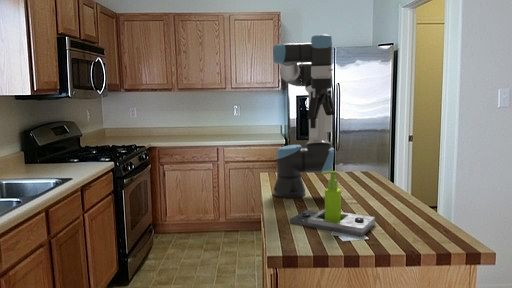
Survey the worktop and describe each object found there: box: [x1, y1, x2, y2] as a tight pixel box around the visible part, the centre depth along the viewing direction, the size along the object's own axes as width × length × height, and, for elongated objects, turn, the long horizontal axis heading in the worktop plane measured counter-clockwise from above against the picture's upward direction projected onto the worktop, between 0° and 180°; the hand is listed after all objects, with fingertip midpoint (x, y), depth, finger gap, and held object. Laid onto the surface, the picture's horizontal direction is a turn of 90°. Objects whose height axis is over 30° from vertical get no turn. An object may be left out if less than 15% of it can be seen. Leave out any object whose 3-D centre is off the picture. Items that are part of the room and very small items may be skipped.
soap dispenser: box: [321, 170, 342, 222], centre depth 149 cm, size 6×7×20 cm
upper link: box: [308, 208, 376, 237], centre depth 148 cm, size 20×14×4 cm, turn 57°
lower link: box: [289, 209, 344, 233], centre depth 152 cm, size 20×14×2 cm, turn 57°
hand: (321, 134), depth 154 cm, fingers open, 13 cm apart
